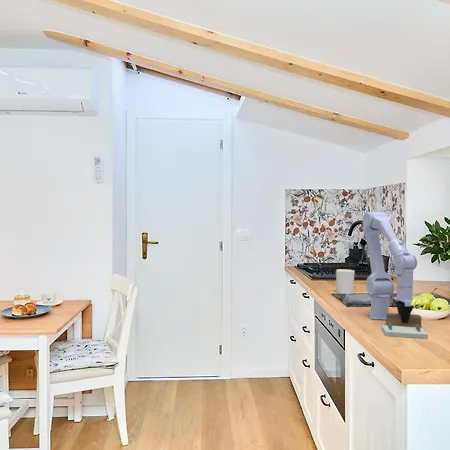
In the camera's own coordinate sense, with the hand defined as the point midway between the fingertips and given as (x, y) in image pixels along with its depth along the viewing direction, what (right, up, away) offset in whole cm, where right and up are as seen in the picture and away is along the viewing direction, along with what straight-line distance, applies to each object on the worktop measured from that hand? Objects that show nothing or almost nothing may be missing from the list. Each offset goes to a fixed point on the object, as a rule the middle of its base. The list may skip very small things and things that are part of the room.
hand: (403, 321), depth 184 cm
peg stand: (-4, -2, -11) cm, 12 cm away
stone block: (-4, -1, +46) cm, 46 cm away
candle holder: (-4, 0, +73) cm, 74 cm away
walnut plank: (0, -2, 0) cm, 2 cm away
